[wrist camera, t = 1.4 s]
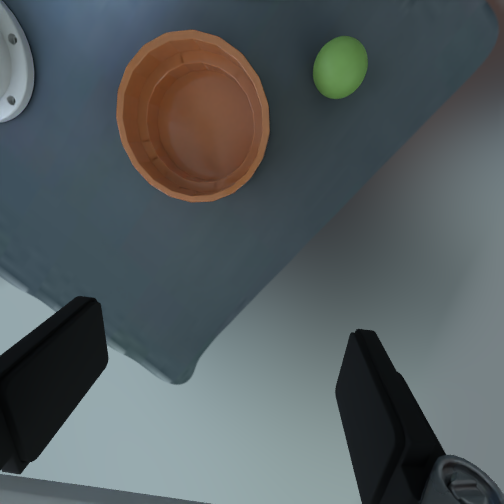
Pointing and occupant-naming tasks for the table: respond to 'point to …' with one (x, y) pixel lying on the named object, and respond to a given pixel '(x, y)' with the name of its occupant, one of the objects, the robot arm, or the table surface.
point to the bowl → (193, 116)
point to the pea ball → (340, 67)
